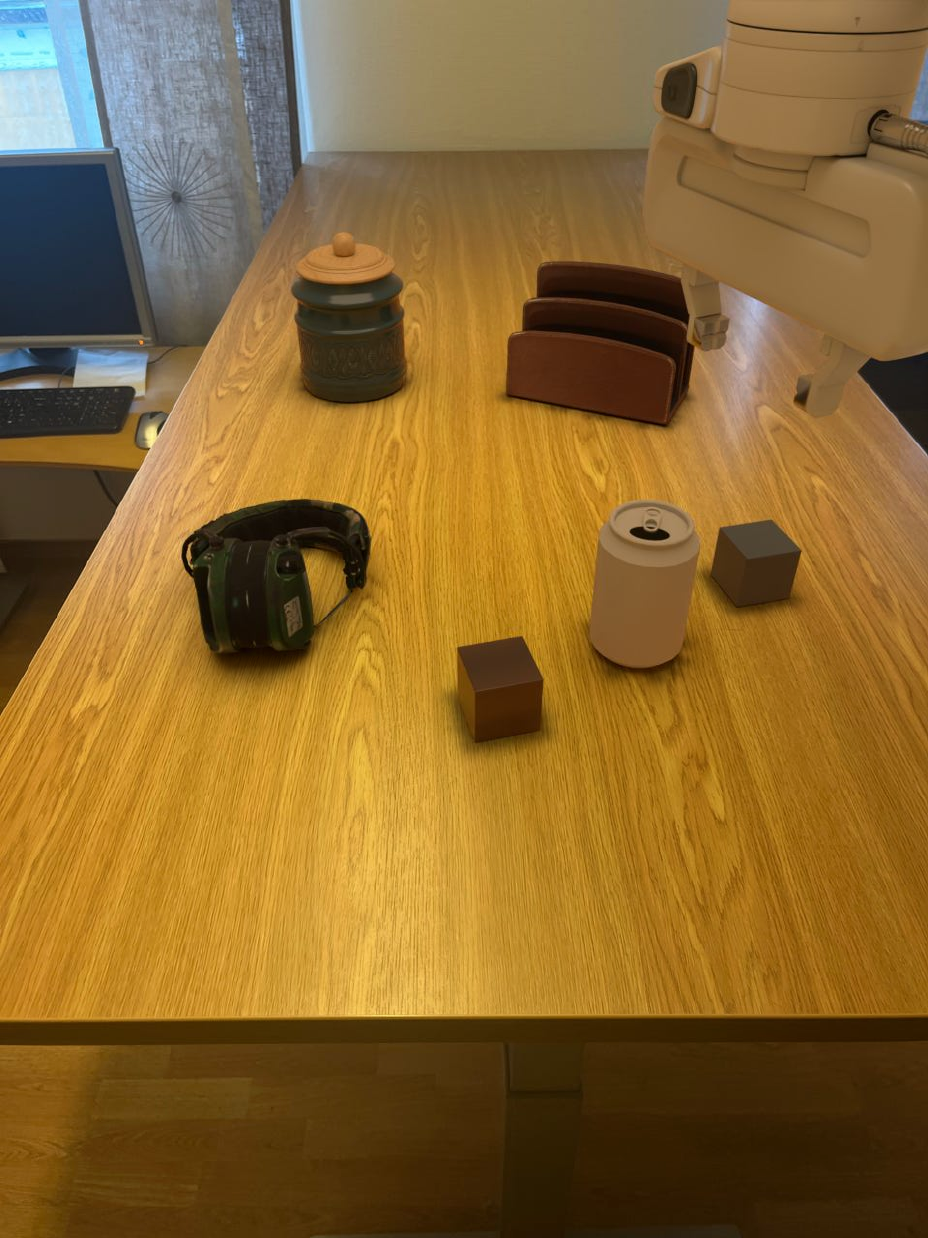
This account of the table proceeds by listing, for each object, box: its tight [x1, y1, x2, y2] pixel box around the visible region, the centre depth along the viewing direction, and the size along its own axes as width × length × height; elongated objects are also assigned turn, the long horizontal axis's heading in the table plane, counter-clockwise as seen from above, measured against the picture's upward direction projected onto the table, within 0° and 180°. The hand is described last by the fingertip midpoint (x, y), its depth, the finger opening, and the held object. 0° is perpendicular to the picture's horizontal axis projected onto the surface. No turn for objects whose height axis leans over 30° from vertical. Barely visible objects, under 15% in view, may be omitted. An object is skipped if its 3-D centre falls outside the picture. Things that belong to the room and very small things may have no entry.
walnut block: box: [456, 635, 545, 743], centre depth 69 cm, size 5×5×5 cm
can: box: [588, 499, 701, 669], centre depth 73 cm, size 8×8×12 cm
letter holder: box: [505, 260, 696, 426], centre depth 109 cm, size 10×20×14 cm, turn 65°
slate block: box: [710, 519, 803, 608], centre depth 81 cm, size 5×5×5 cm
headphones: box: [180, 498, 373, 655], centre depth 78 cm, size 13×13×20 cm
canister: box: [290, 231, 408, 403], centre depth 111 cm, size 13×13×18 cm
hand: (756, 376), depth 52 cm, fingers open, 8 cm apart
